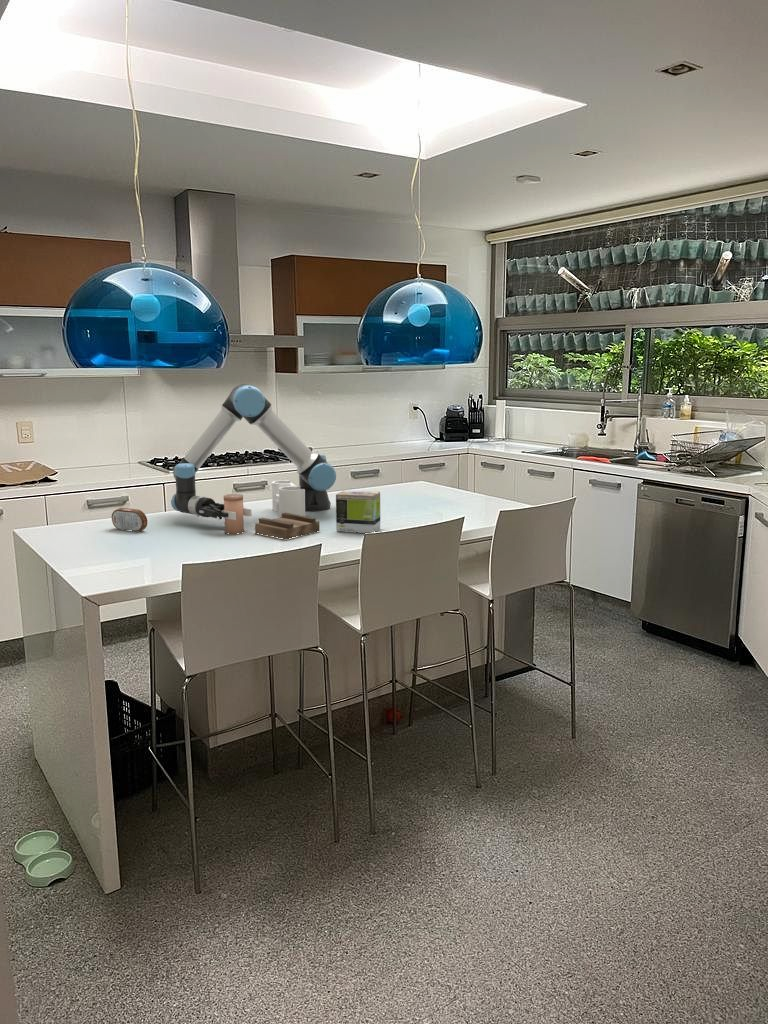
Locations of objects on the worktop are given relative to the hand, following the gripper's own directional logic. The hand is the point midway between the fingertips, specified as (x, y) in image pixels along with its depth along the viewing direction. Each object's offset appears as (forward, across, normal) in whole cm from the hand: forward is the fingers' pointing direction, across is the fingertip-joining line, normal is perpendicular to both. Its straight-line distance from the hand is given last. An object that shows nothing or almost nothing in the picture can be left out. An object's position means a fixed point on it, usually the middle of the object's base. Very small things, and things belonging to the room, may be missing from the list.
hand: (243, 514), depth 296 cm
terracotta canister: (-5, 0, -8) cm, 9 cm away
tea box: (+29, -32, -8) cm, 44 cm away
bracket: (-13, -36, -8) cm, 40 cm away
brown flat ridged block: (+11, -12, -8) cm, 18 cm away
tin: (-38, +23, -8) cm, 45 cm away
